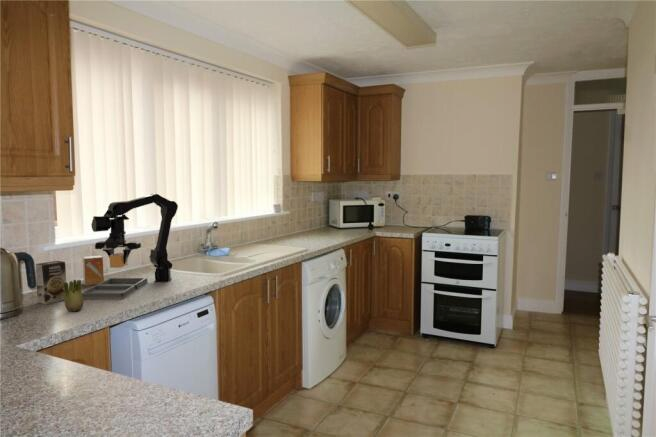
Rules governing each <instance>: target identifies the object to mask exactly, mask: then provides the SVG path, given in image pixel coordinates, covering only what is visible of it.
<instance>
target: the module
mask: <svg viewBox="0 0 656 437" xmlns="http://www.w3.org/2000/svg"><path fill="white" fill-rule="evenodd" d="M128 264H129V263H128V260H127V261H126V264H124V252H114V254H112V255H110V258H109V268H110V269H111V268H114V269H116V268H117V269H118V268H119V269H120V268H124V267H126V266H128Z"/></svg>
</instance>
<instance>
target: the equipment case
mask: <svg viewBox="0 0 656 437" xmlns="http://www.w3.org/2000/svg"><path fill="white" fill-rule="evenodd" d="M148 283H149V282H148V277H108V278H106V279H105V280H104V281H103V282H101V283H99V284H97V285H136V291H138V290H140V289H141V288H142V287H143V286H145V285H147V284H148ZM97 285H95V286H97Z"/></svg>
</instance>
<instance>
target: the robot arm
mask: <svg viewBox="0 0 656 437" xmlns="http://www.w3.org/2000/svg"><path fill="white" fill-rule="evenodd" d="M153 203H154V204H155V205H156V206H157V207H159V208H160V216H161V220H160V226H159V230H158V236H157V240H156V246H155V247H154V249H150V253H149V254H150V255H149V257H148V258H149V261H150V263H151V264H152V265H153V266H154V268H155V271H154V282H169V281H171V280H172V279H173V278H172V276H171V275H172V274H171V269H172V267H173V263H172V262H171V261H169V260H168V259H169V258H168V256H169V255H168V250H167V247H168V242H169V236H170V231H171V226H172V221H173V218H174V217H175V216H176V213H177V211H178V208H179V205H178V203H177V202H176V201H174V200H169V199H168V198H166V197H163V196H161V195H160V194H158V193H150V194H148V195H145V196H141V197H138V198H134V199H130V200H126V201H125V200H124V201H113V202H111V203H109V205H108V207H107V211H105V213H104V215H102V216H97V215H94V216H93V217H92V221H91V223H90V224H91V230H92V231H93V233H94V232H95V233H97V232H107V231H109V230H110V232H109V236H108V238H106V239H105V240H103V241H98V242H96V243H95V244H94V249H95V250H102V252H105V253H106V254H107V256H108V257H109V259H110V255H112V254H115V249H117V248H124V249H122V253H124V264H126V261H127V262H128V259H129V255H130V254H131V252H132V251H133V250H137V249H140V248H142V244H141V242H140V241H136V240H134V241H129V242H128V243H127V240H126V238H125V237H126V235H125V234H126V231H125V220H126V221H127V220H130V218H129V217H128V216H126V213H129V212H130V211H132V210H134V209H137V208H140V207H143V206H147V205H151V204H153Z"/></svg>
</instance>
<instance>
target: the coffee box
mask: <svg viewBox="0 0 656 437" xmlns="http://www.w3.org/2000/svg"><path fill="white" fill-rule="evenodd" d="M66 271H67V270H66V262H65V261H60V260H55V261H53V260H52V261H48V262H41V263H35V275H36V276H35V278H36V280H35V281H36V298H37V299H36V300H37V303H39V304H42V305H48V304H49V305H50V304H53V303H57V302H61V301H65V289H64V282H67V272H66Z"/></svg>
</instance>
